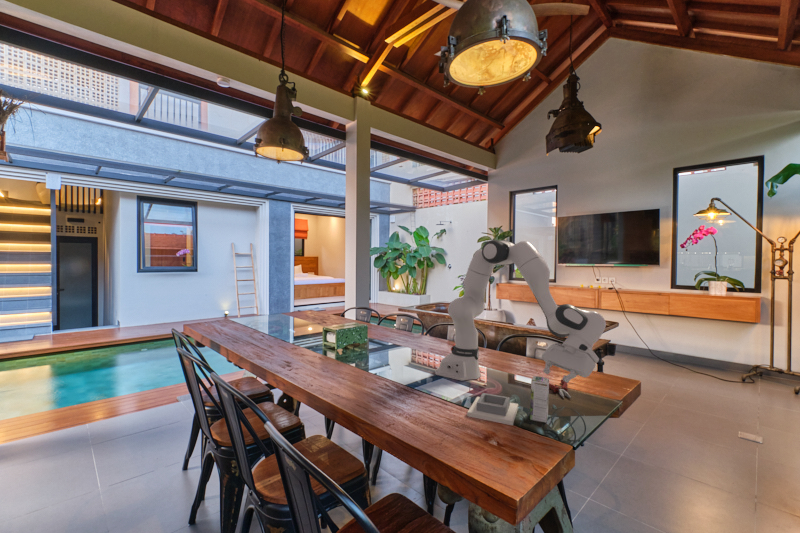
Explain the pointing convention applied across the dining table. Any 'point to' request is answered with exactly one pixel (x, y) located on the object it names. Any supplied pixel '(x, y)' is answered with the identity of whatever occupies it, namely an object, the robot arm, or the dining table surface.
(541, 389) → the syrup box
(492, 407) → the socket board
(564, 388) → the pliers
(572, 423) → the dining table surface
